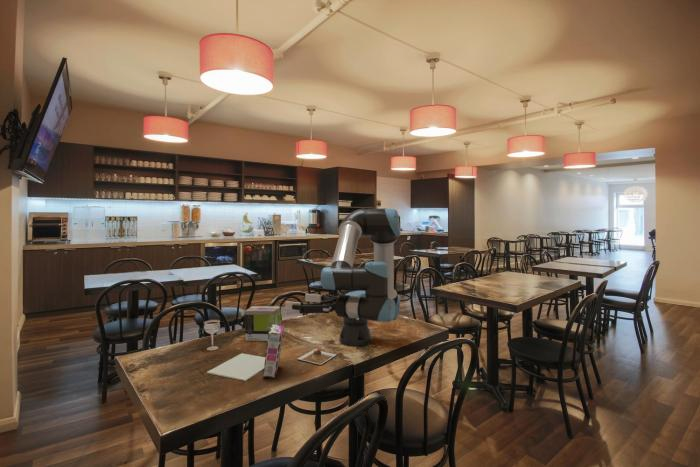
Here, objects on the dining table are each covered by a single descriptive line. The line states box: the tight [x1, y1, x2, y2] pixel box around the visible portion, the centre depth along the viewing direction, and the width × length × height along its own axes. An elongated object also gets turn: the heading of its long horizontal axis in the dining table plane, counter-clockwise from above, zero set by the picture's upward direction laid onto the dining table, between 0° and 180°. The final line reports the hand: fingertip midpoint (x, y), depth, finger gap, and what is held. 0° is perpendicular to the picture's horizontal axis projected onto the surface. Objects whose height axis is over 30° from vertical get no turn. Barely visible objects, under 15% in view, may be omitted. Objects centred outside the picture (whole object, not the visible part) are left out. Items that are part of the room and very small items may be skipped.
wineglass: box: [203, 319, 221, 351], centre depth 161 cm, size 7×7×12 cm
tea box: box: [244, 305, 282, 342], centre depth 174 cm, size 15×10×15 cm
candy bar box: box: [262, 324, 285, 379], centre depth 136 cm, size 11×5×16 cm, turn 5°
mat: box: [206, 352, 266, 382], centre depth 141 cm, size 18×20×1 cm
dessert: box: [296, 347, 337, 366], centre depth 149 cm, size 12×12×5 cm
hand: (296, 301), depth 131 cm, fingers open, 13 cm apart
